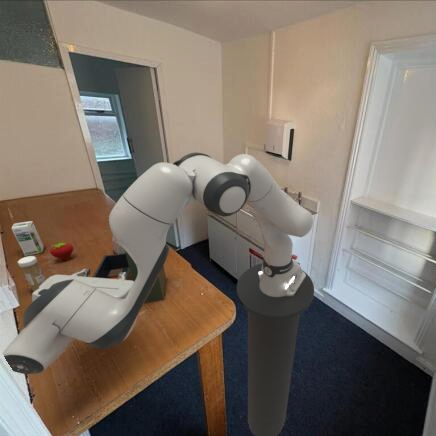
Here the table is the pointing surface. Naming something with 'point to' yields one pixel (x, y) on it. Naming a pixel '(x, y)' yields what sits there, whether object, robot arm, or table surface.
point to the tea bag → (117, 246)
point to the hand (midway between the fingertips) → (105, 272)
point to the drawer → (113, 266)
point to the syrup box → (27, 238)
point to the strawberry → (62, 250)
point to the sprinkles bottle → (32, 271)
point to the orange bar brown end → (114, 273)
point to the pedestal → (158, 286)
